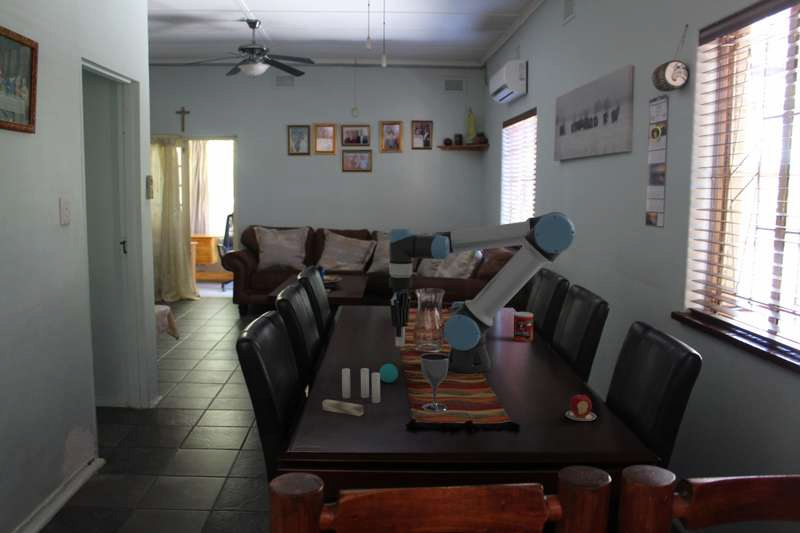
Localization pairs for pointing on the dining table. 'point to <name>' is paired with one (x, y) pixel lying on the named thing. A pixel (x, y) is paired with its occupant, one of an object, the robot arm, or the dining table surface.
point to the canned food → (523, 326)
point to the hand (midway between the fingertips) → (400, 345)
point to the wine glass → (434, 376)
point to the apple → (581, 408)
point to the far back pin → (346, 383)
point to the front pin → (364, 383)
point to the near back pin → (375, 387)
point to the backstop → (343, 407)
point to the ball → (388, 373)
